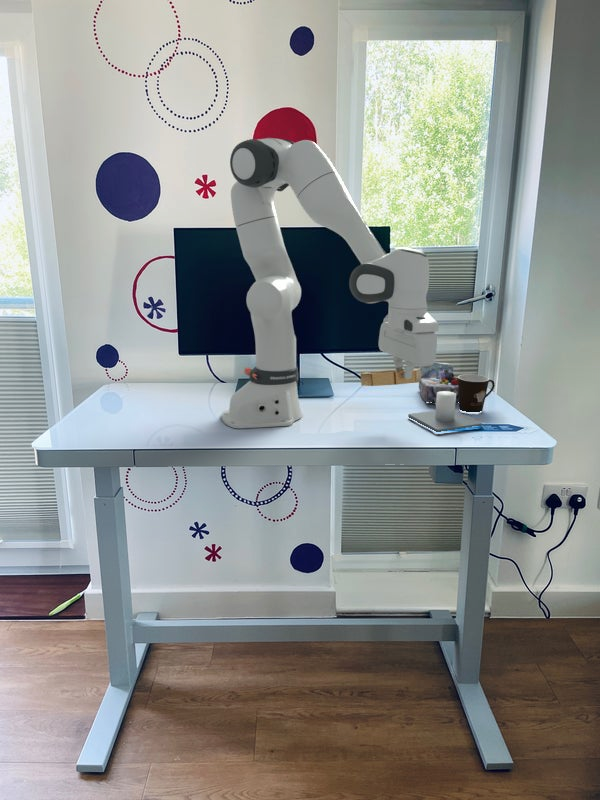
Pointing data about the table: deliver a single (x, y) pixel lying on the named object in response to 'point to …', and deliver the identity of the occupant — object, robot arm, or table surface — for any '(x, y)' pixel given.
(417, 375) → the wooden ring
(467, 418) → the piston stand
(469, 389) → the coffee mug
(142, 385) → the table surface
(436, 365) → the cell model
